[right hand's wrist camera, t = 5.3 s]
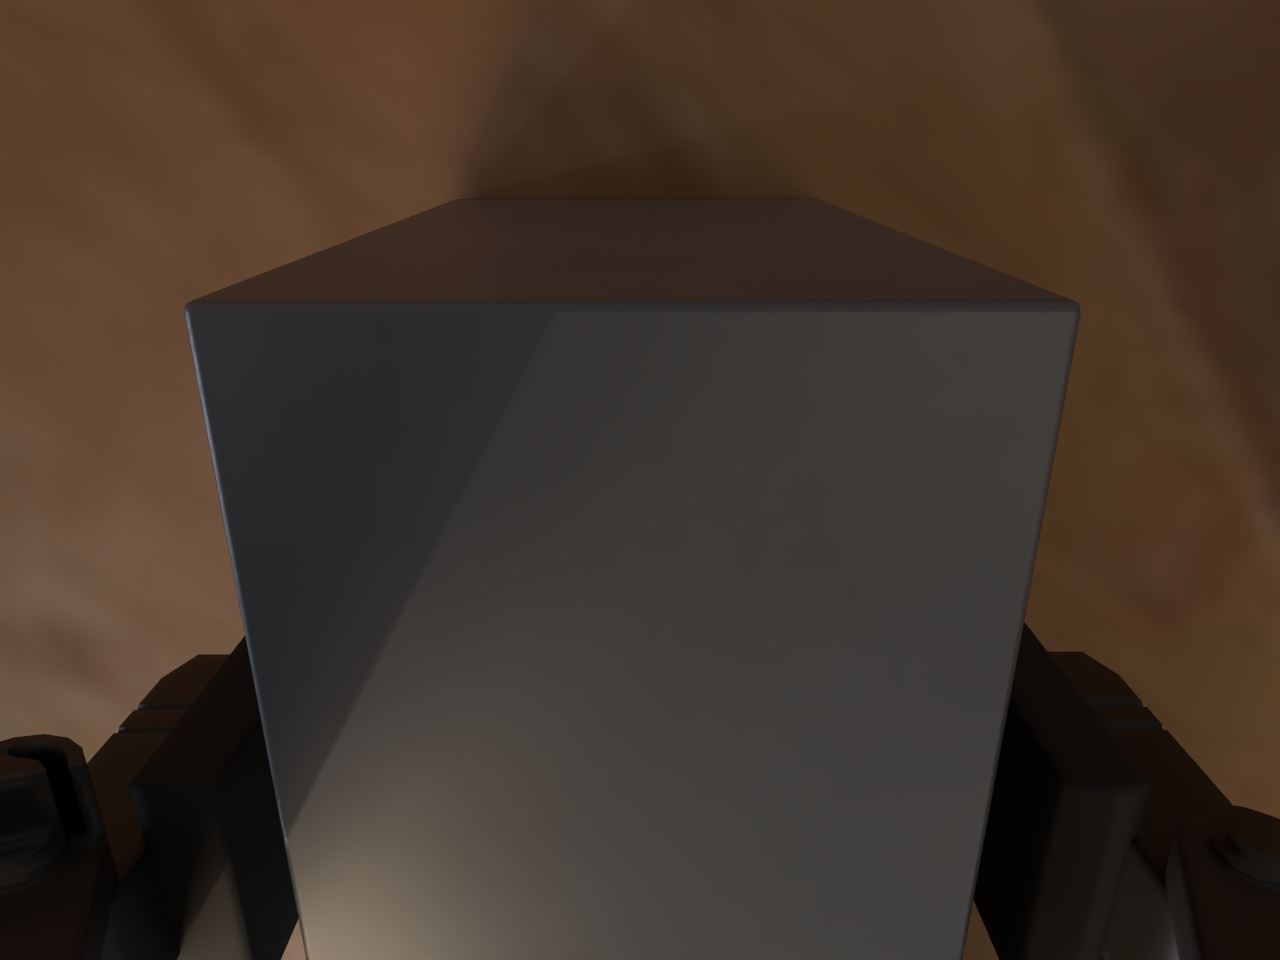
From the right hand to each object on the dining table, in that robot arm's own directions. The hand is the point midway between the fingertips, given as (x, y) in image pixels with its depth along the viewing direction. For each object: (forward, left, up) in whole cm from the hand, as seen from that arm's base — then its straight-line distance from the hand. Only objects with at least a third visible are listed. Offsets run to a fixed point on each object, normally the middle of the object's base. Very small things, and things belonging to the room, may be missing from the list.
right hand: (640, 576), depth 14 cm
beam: (-6, -19, -1) cm, 20 cm away
